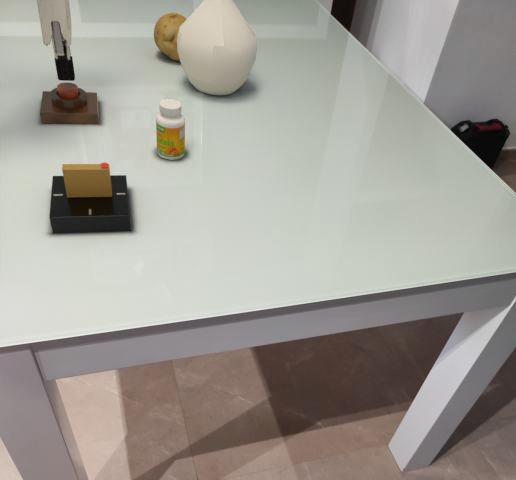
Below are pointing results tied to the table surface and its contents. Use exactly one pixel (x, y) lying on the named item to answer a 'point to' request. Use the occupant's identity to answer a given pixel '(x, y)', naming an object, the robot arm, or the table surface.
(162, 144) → the supplement bottle
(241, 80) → the vase
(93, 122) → the brown square block
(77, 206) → the dial pointer knob base
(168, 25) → the potato
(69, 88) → the red short cylinder
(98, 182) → the dial pointer knob
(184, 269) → the table surface
